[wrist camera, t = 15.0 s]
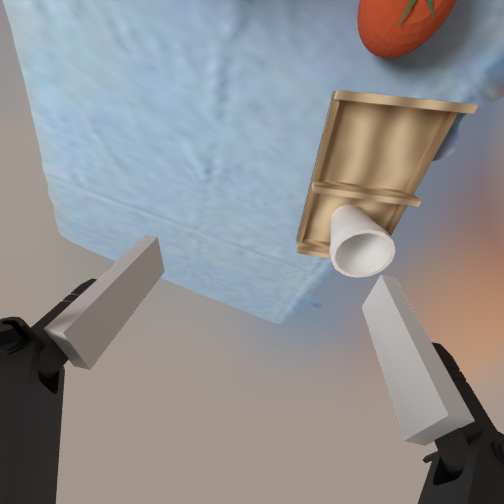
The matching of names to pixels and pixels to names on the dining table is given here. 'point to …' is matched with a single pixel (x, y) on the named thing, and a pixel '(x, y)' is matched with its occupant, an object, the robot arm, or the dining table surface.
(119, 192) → the dining table surface
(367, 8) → the tomato
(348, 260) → the foam cup
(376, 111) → the rack
